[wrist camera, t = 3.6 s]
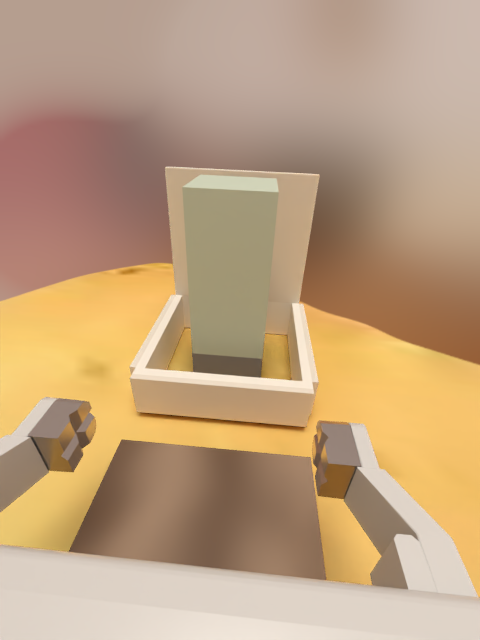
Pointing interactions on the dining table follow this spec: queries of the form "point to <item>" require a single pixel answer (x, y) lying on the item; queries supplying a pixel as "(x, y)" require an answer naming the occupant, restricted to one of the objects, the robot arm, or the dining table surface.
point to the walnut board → (206, 510)
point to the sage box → (229, 270)
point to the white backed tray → (282, 318)
